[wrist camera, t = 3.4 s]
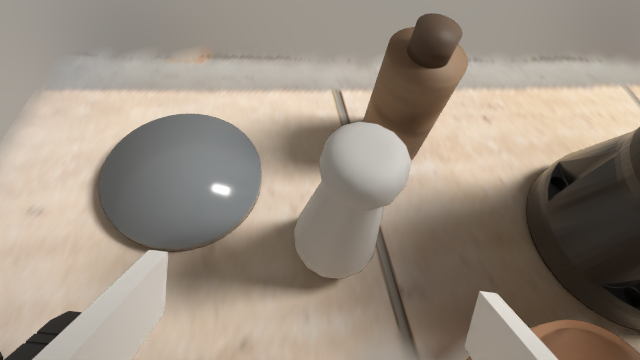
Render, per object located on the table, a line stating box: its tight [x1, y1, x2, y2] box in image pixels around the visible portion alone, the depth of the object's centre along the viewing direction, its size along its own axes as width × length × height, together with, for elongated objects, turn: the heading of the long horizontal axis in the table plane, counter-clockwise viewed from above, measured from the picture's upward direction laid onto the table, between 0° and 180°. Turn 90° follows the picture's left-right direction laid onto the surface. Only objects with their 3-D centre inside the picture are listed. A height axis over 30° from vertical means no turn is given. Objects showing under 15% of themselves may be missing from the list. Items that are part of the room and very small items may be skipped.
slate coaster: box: [99, 114, 261, 251], centre depth 29 cm, size 12×12×1 cm
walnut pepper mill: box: [363, 14, 468, 160], centre depth 28 cm, size 6×6×12 cm
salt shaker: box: [294, 122, 411, 279], centre depth 22 cm, size 6×6×13 cm
